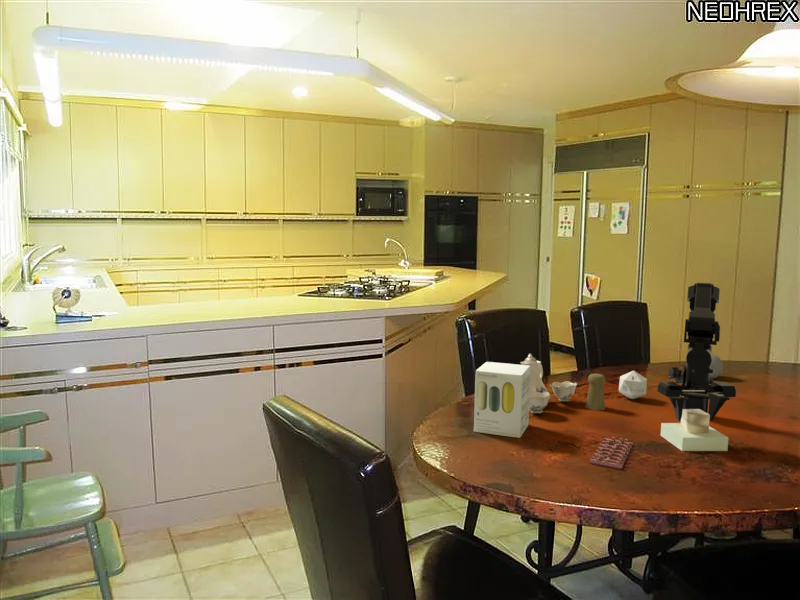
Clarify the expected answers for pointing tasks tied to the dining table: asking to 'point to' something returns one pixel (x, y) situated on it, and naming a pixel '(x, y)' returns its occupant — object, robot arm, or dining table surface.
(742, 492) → the dining table surface
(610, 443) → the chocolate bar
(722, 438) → the sage block
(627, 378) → the die
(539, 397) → the chinaware
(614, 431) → the dining table surface
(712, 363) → the decorative ball
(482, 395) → the supplement box
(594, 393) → the cork
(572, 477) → the dining table surface
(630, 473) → the dining table surface
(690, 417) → the birch cube
